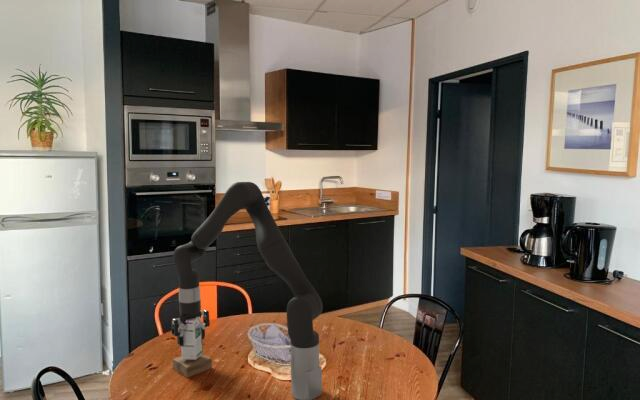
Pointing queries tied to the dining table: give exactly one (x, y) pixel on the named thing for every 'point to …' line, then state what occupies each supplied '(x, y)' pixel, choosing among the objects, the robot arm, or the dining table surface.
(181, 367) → the walnut base block
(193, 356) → the syrup box
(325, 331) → the dining table surface
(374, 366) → the dining table surface
